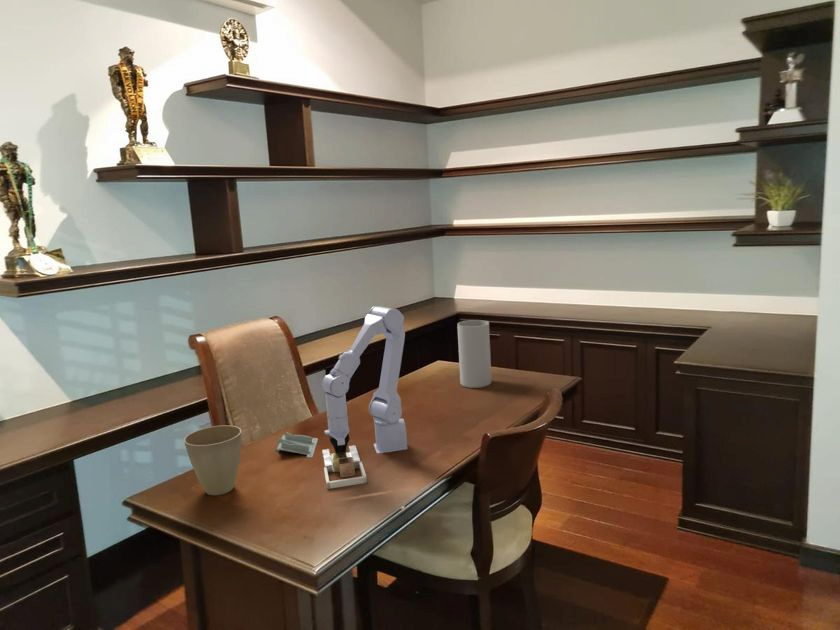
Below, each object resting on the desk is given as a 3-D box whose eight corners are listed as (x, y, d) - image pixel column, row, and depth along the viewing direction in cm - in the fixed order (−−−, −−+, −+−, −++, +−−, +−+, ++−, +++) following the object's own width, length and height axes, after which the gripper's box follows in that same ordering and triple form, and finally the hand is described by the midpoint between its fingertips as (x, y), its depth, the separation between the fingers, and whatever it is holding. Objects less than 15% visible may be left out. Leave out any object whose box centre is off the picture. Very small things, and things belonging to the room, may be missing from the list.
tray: (362, 469, 179) (361, 461, 178) (367, 484, 169) (366, 477, 168) (324, 474, 177) (323, 467, 176) (327, 490, 167) (326, 483, 166)
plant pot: (258, 487, 171) (251, 432, 168) (207, 508, 161) (199, 450, 158) (231, 472, 182) (225, 420, 179) (182, 491, 172) (174, 436, 169)
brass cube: (346, 464, 181) (345, 451, 180) (348, 470, 177) (347, 457, 176) (332, 466, 180) (331, 453, 179) (334, 472, 176) (332, 459, 176)
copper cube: (353, 469, 177) (352, 456, 177) (355, 475, 174) (354, 462, 173) (339, 471, 177) (338, 458, 176) (340, 477, 173) (339, 464, 172)
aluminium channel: (355, 453, 190) (355, 445, 190) (360, 469, 179) (360, 460, 178) (323, 457, 188) (322, 449, 188) (325, 474, 177) (325, 465, 176)
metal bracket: (274, 445, 186) (282, 426, 201) (270, 463, 187) (279, 443, 202) (321, 454, 188) (326, 435, 202) (317, 471, 189) (322, 451, 203)
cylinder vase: (458, 380, 257) (454, 321, 252) (487, 378, 258) (485, 319, 253) (463, 389, 245) (460, 327, 240) (494, 386, 246) (492, 325, 241)
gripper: (321, 409, 185) (325, 451, 188) (324, 425, 171) (329, 471, 174) (345, 406, 187) (349, 448, 189) (350, 422, 173) (354, 467, 175)
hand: (341, 459), depth 182 cm, fingers closed
